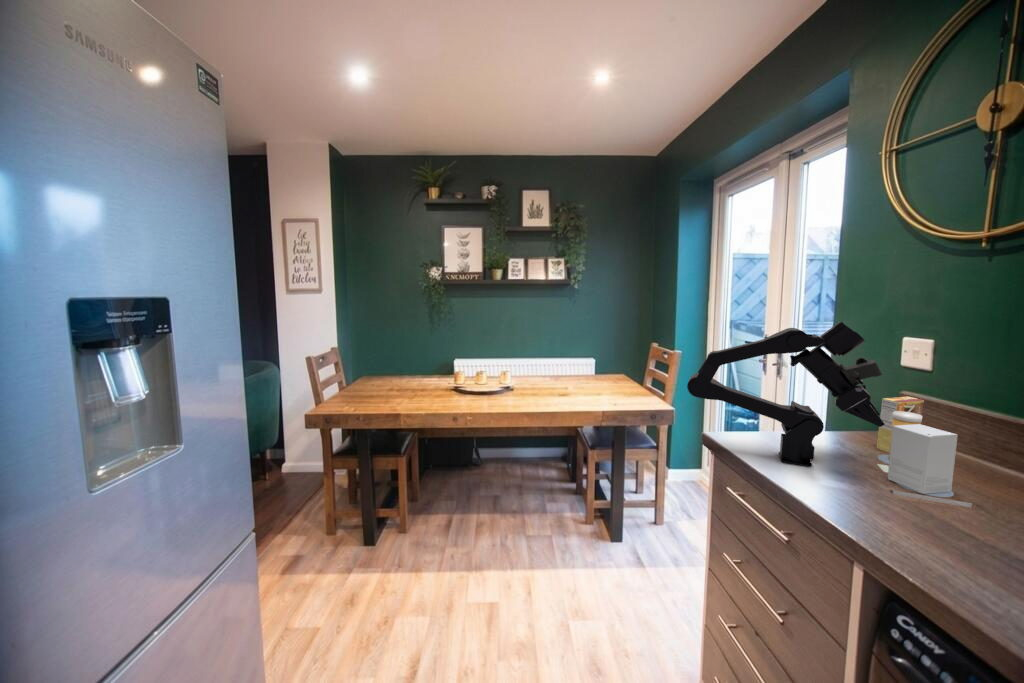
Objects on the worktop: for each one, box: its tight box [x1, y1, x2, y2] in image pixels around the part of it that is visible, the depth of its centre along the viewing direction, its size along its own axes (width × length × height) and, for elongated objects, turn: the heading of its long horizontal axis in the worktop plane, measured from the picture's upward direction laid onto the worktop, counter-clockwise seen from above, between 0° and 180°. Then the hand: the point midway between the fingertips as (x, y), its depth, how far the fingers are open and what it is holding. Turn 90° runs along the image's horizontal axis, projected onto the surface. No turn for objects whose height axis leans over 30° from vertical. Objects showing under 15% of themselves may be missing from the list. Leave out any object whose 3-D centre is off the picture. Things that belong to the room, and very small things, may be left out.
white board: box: [876, 454, 973, 509], centre depth 94 cm, size 12×24×1 cm, turn 153°
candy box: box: [876, 396, 925, 453], centre depth 107 cm, size 9×4×15 cm, turn 103°
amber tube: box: [888, 411, 923, 459], centre depth 99 cm, size 5×5×12 cm
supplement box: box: [887, 423, 958, 495], centre depth 87 cm, size 7×7×13 cm
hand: (880, 420), depth 94 cm, fingers open, 9 cm apart
